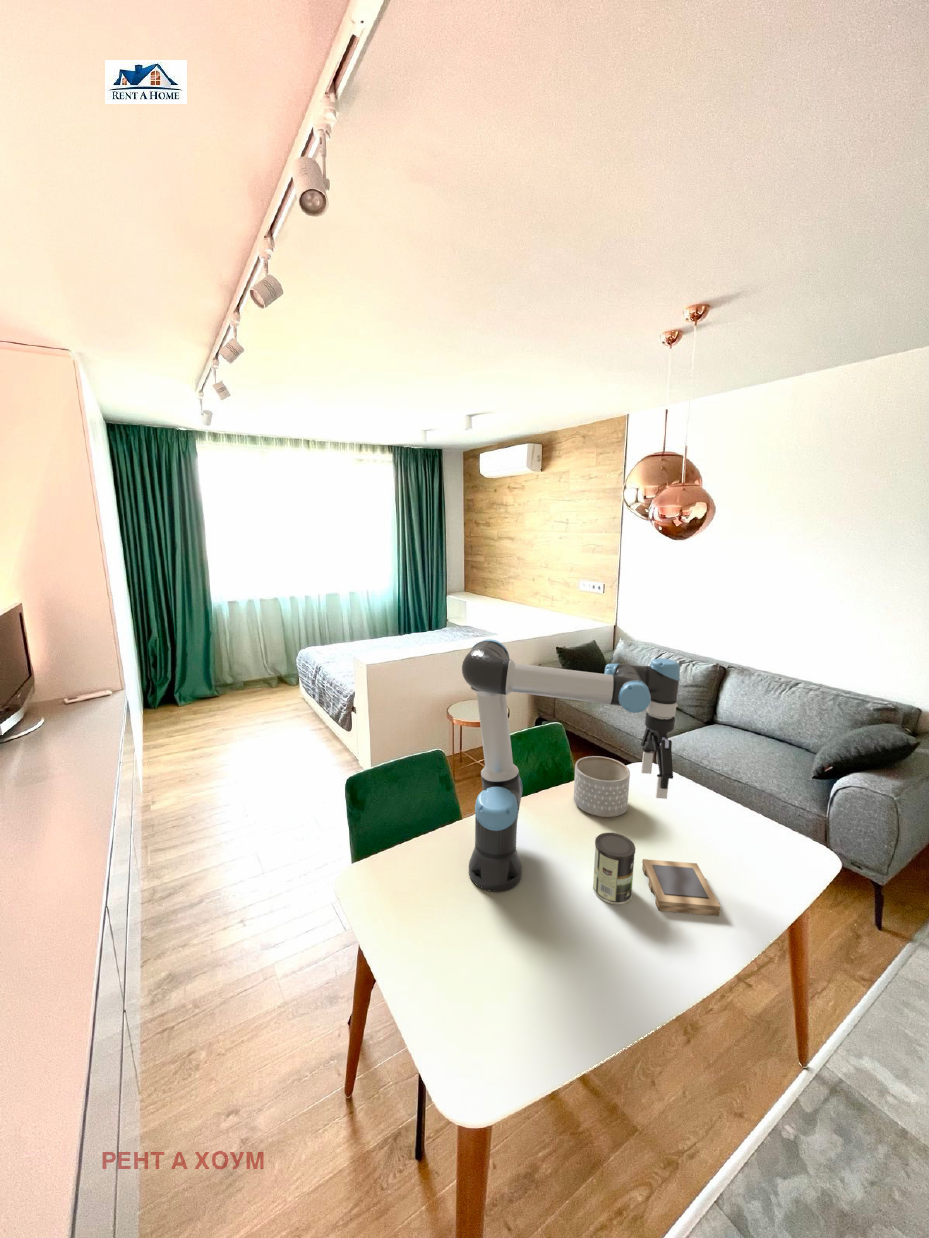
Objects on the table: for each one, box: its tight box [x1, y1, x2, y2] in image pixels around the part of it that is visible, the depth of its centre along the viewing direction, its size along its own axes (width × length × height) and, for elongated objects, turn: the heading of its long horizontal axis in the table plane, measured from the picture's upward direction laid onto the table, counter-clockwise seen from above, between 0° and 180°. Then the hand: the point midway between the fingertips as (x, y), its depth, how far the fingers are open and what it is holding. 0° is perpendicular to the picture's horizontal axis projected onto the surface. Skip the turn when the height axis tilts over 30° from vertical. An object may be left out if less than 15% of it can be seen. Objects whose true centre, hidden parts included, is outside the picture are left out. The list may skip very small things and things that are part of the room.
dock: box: [641, 858, 722, 917], centre depth 127 cm, size 15×16×3 cm
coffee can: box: [592, 832, 636, 906], centre depth 126 cm, size 10×10×14 cm
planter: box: [573, 755, 631, 818], centre depth 167 cm, size 19×19×14 cm
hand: (653, 784), depth 133 cm, fingers open, 13 cm apart
